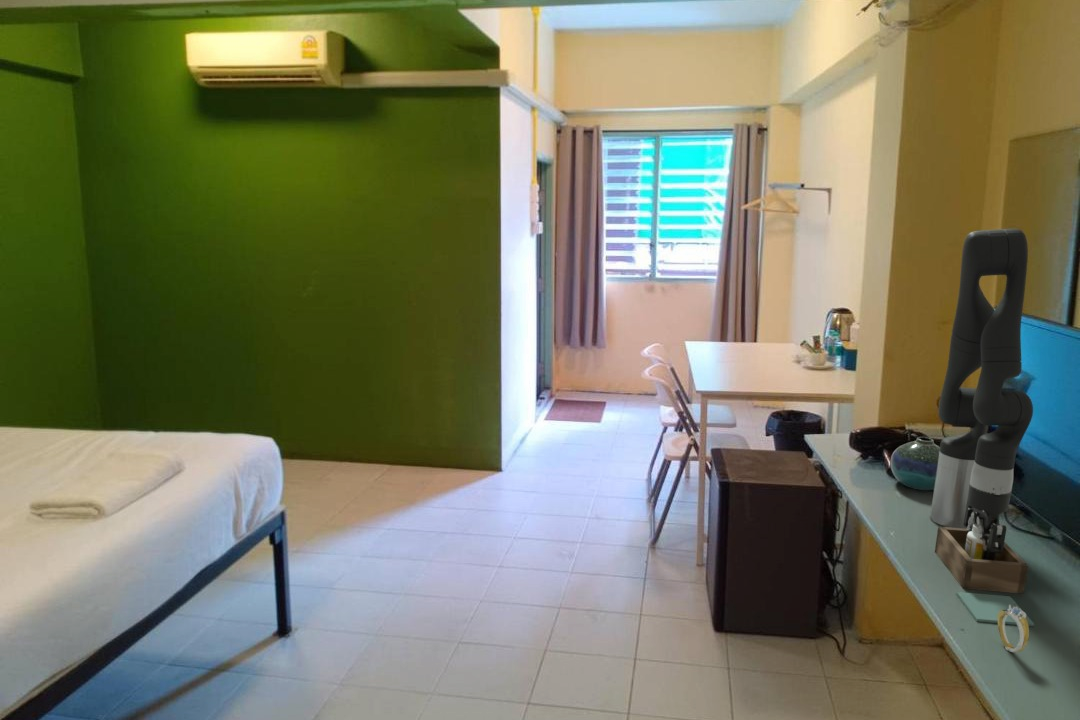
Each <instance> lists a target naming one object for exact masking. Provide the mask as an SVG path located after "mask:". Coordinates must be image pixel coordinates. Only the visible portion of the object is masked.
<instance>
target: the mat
mask: <svg viewBox="0 0 1080 720" xmlns="http://www.w3.org/2000/svg"><path fill="white" fill-rule="evenodd" d="M955 595H956V596H957V598H958V599H959V598H960V599H959V600H960V601H961V603H962V602H963V603H962V604H963V605H964V606H966V607H965V608H966V609H967V611H968V612H969V614H971V616H972V618H973V619H974V620H975V622H979V623H980V622H982V623H990V624H991V623H993V624H998V613H999V611H1001V610H1006V609H1009V605H1011V608H1013V607H1018V609H1019V608H1020V609H1021V611H1023V609H1022V608H1021V607H1020V606H1019V605H1018V604H1017V603H1016V601H1015V600H1014V599H1013V597H1012V596H1008V595H1007V596H1006V595H996V594H986V593H984V594H983V593H975V592H961V591H956V594H955ZM1023 612H1024V611H1023ZM1021 616H1022V615H1021ZM1026 620H1027V622H1028V627H1034V626H1035V622H1033V621H1032V620H1031V618H1030V617H1029V616H1028V615H1027V614H1026ZM1019 621H1020V619H1019ZM1020 622H1021V621H1020ZM1021 624H1022V623H1021ZM1005 625H1013V626H1014V625H1016V626H1017V624H1016V622H1015V621H1014V620H1013V619H1012V618H1011V617H1010V616H1009V615H1008V616H1007V618H1006V621H1005Z"/></svg>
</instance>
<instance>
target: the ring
mask: <svg viewBox="0 0 1080 720" xmlns="http://www.w3.org/2000/svg"><path fill="white" fill-rule="evenodd" d="M1020 608H1021V607H1020ZM1020 608H1019V609H1018V607H1013V608H1011V605H1009V609H1006V610H1001V611H999V613H998V623H997V627H998V633H999V636H1000V639H1001V642H1002V644H1003V646H1004V648H1005V651H1009V652H1011V653H1021V651H1023V650H1024V649H1025V647H1026V646H1027V643H1028V641H1029V638H1030V637H1029V635H1030V628H1029V627H1030V626H1028V622H1027V620H1026V615H1027V613H1026V612H1025V611H1021V609H1022V608H1021V609H1020ZM1008 615H1009V616H1010V617H1011V618H1012V619H1013V620H1014V621H1015V622H1016V624H1017V625H1016V626H1017V628H1018V637H1019V638H1018V642H1017V644H1016V646H1015V647H1014V644H1012V643H1010V641H1009V639H1008V637H1007V632H1006V624H1005V621H1006V618H1007V616H1008ZM1021 615H1022V616H1021ZM1019 619H1020V621H1021V622H1020V621H1019ZM1021 623H1022V624H1021Z"/></svg>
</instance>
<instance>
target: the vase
mask: <svg viewBox="0 0 1080 720" xmlns="http://www.w3.org/2000/svg"><path fill="white" fill-rule="evenodd" d="M939 451H940V445H937V444H936V443H935V442H934V439H933V438H930V437H927V436H917V437H916V440H914V441H913V440H912V441H910V442H907V443H904V444H902V445H899V446H898V447H897V448H896V449H895V450H894V451H893V452H892V454H891V457H890V469H891V471H892V474H893V476H894V477H895V479H896V480H897V481H898V482H899V483H900V484H902V485H904V486H906V487H908V488H910V489H914V490H917V491H918V490H919V491H934V486H935V479H936V472H937V465H938V458H939Z"/></svg>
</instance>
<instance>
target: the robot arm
mask: <svg viewBox="0 0 1080 720" xmlns="http://www.w3.org/2000/svg"><path fill="white" fill-rule="evenodd" d="M1028 246H1029V245H1028V239H1027V236H1026V234H1025V233H1024V232H1023V231H1022V229H1020V228H1002V229H999V228H998V229H986V230H984V229H983V230H975V231H971V232H969V233H968V234H967V235H966V237H965V239H964V241H963V246H962V253H961V255H962V256H961V263H960V264H961V265H960V277H959V278H960V280H959V291H958V298H957V305H956V309H955V314H954V320H953V324H952V330H951V336H950V343H949V351H948V352H949V353H948V360H947V361H948V362H947V369H946V372H945V377H944V381H943V385H942V389H941V393H940V397H939V403H938V418H939V420H940V421H941V422H942V423H943V424H946V425H951V426H955V427H956V426H957V427H965V428H971V429H970V430H968V431H967V432H963V433H961V434H958V435H952V436H951V435H950V436H947V437H944V438H942V439H941V440H940V443H939V447H940V451H939V458H938V465H937V472H936V479H935V486H934V490H933V493H932V501H931V508H930V509H931V510H930V515H929V518H930V520H931V521H933V522H934V523H936V524H938V525H939V526H940V525H941V526H942V527H951V528H964V529H966V531H967V533H968V532H970V531H972V528H973V524H974V523H976V524H977V525H978V527H979V537H980V539H981V540H982V541H983V552H982V559H981V560H993V561H994V560H995V554H996V553H1001V554H1002V553H1003V547H1004V542H1005V539H1006V533H1007V526H1006V525H1004V524H1003V525H1002V524H1000V515H1001V514H1003V513H1006V512H1007V511H1009V507H1010V503H1011V496H1012V490H1013V484H1014V468H1015V463H1016V462H1015V461H1016V456H1017V450H1018V447H1019V446H1020V444H1021V443H1022V440H1023V438H1024V436H1025V434H1026V432H1027V430H1028V427H1029V425H1030V424H1031V422H1032V418H1033V415H1034V407H1033V406H1034V405H1033V403H1032V402H1033V401H1032V399H1031V398H1030V396H1029V394H1027V393H1026V392H1023V391H1021V390H1003V386H1004V385H1005V382H1006V381H1007V380H1010V379H1015V378H1017V377H1019V376H1020V375H1021V373H1022V366H1023V365H1022V342H1021V341H1022V339H1021V335H1022V334H1021V331H1022V330H1021V328H1022V327H1021V326H1022V318H1023V317H1022V316H1023V310H1024V309H1023V308H1024V301H1025V292H1026V284H1027V273H1028V271H1027V270H1028V262H1029V261H1028V258H1029V250H1028V249H1029V247H1028ZM986 276H987V277H988V276H1006V281H1005V282H1006V284H1005V289H1004V292H1003V295H1002V297H1001V299H1000V301H999V303H998V304H997V306H996V308H993V305H992V304H991V303H990V302H989V301H988V299H987V298H986V296H985V295H984V292H983V291H982V288H981V286H980V280H981V278H982V277H986ZM978 369H981V370H980V374H979V377H978V382H977V385H976V387H975V388H974V387H967V386H962V385H963V384H964V382H965V381H966V380H967V379H968V378H969V377H970V376H971V375H972V374H974V373H975V372H976V371H977V370H978ZM989 427H996V428H995V430H994V431H991V432H989V433H988V430H989V429H988V428H989ZM985 534H990V535H989V536H987V535H985ZM987 540H989V541H988V542H987ZM998 543H999V544H998Z"/></svg>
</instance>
